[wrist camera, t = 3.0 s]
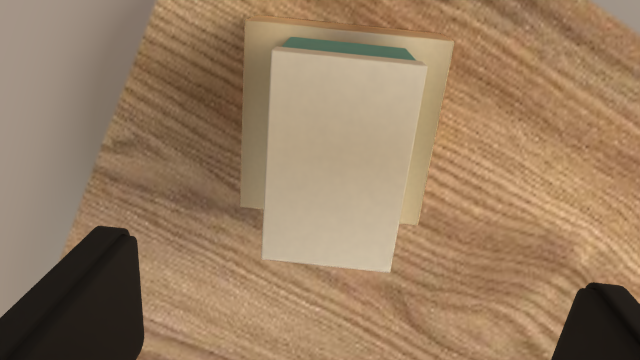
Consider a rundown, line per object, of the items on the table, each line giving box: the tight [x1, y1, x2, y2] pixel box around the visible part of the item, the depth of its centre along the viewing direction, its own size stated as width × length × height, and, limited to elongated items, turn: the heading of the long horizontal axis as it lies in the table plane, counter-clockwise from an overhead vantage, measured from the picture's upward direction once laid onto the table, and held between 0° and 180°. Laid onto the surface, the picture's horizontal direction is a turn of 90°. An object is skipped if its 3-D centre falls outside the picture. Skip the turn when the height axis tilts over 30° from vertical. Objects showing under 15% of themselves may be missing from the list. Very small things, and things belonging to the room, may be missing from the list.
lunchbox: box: [261, 37, 427, 273], centre depth 19 cm, size 8×5×5 cm, turn 175°
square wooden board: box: [240, 15, 455, 225], centre depth 23 cm, size 9×9×3 cm
